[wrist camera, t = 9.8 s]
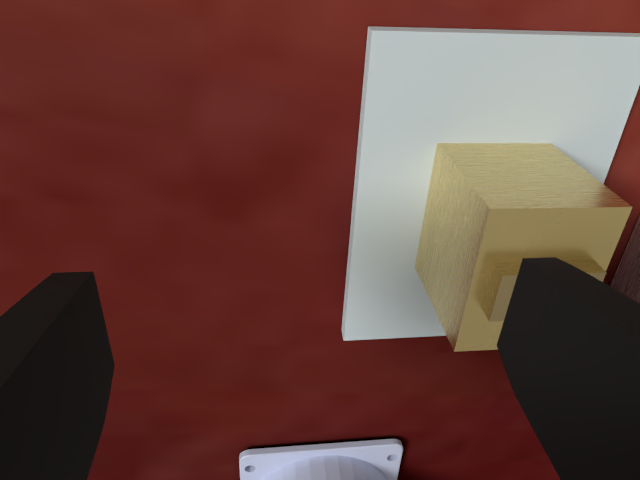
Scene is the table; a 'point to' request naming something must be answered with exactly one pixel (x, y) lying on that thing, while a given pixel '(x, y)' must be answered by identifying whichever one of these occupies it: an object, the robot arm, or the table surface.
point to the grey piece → (629, 268)
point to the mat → (465, 139)
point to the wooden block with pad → (507, 229)
